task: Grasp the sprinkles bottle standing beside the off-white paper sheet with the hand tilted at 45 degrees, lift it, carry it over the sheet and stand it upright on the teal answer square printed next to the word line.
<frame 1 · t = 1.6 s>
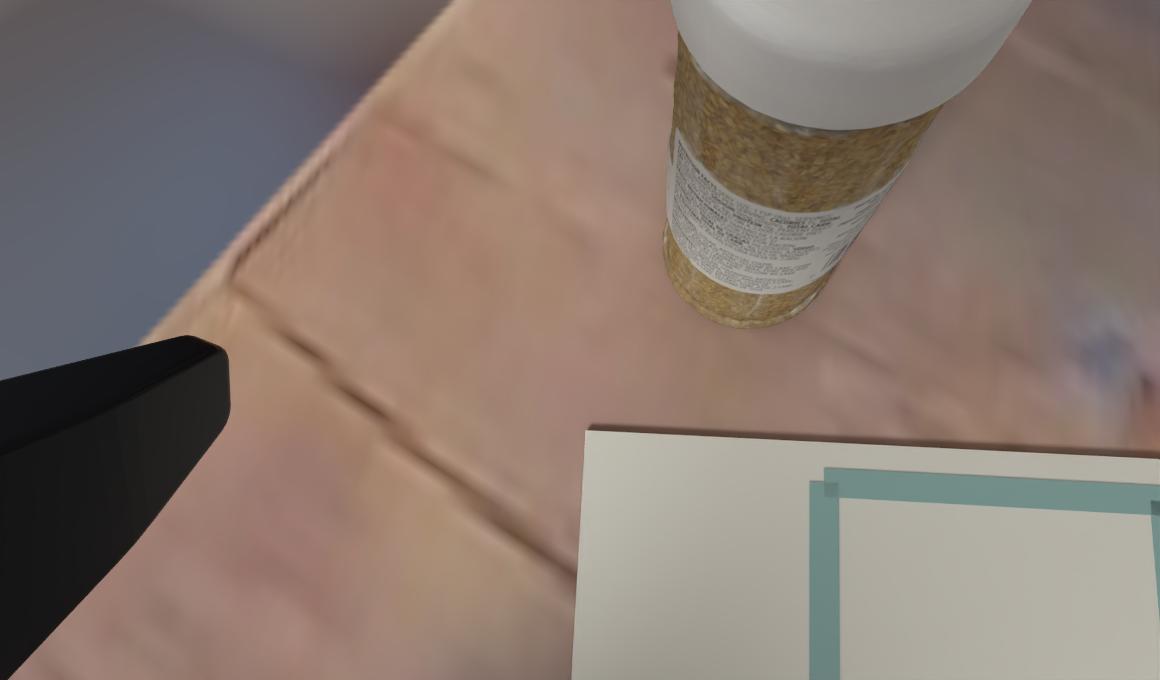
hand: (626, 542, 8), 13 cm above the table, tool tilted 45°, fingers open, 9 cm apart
sprinkles bottle: (744, 254, 23), on the table
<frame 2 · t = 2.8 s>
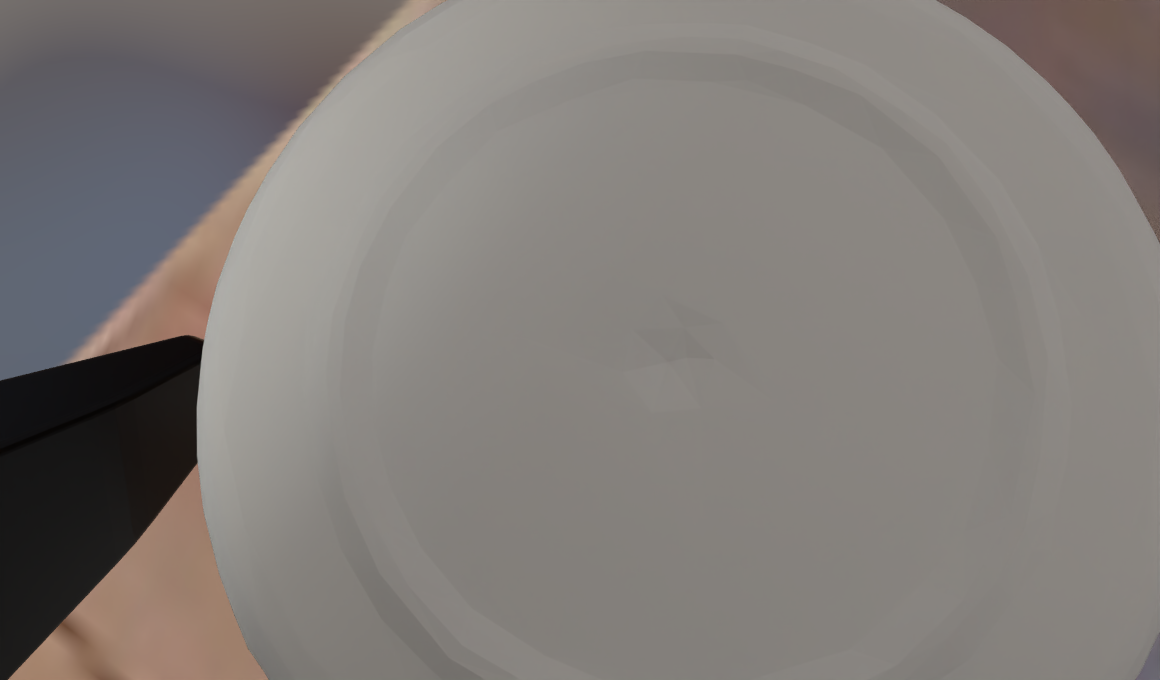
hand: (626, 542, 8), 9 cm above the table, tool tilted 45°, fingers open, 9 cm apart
sprinkles bottle: (654, 499, 17), on the table
when the fingers open (7 cm above the table, at t = 7.5 s): sprinkles bottle stays where it is, resting on paper sheet.
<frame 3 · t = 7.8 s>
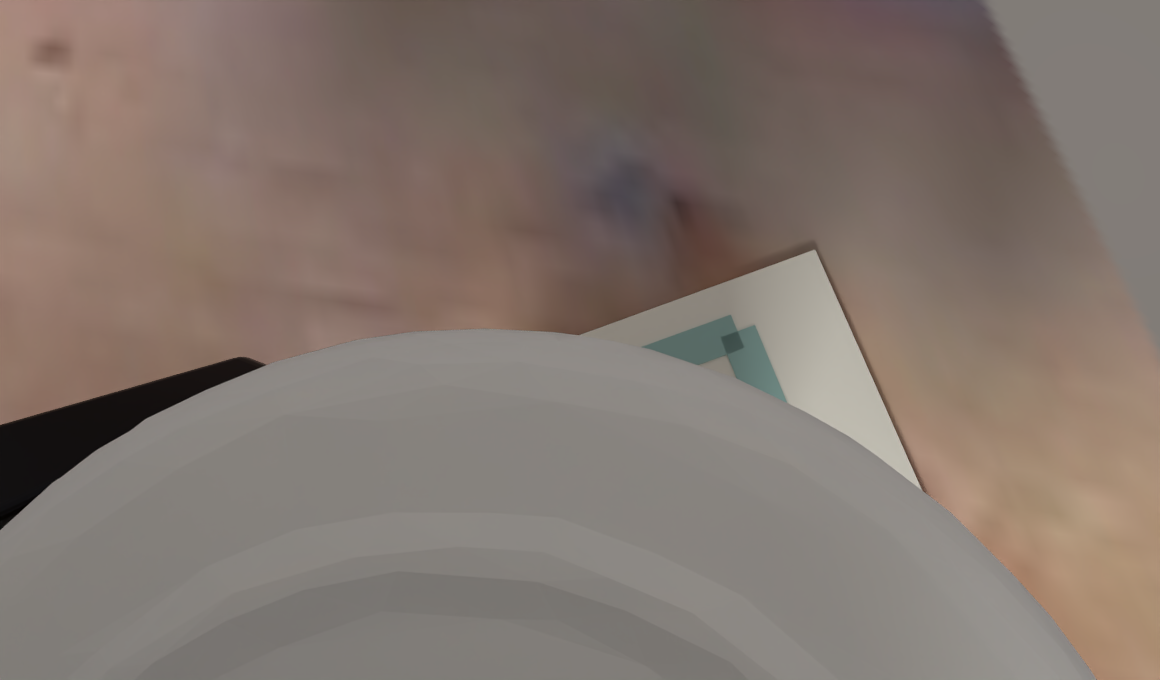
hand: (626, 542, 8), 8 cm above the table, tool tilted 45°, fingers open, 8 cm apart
sprinkles bottle: (610, 616, 15), resting on paper sheet
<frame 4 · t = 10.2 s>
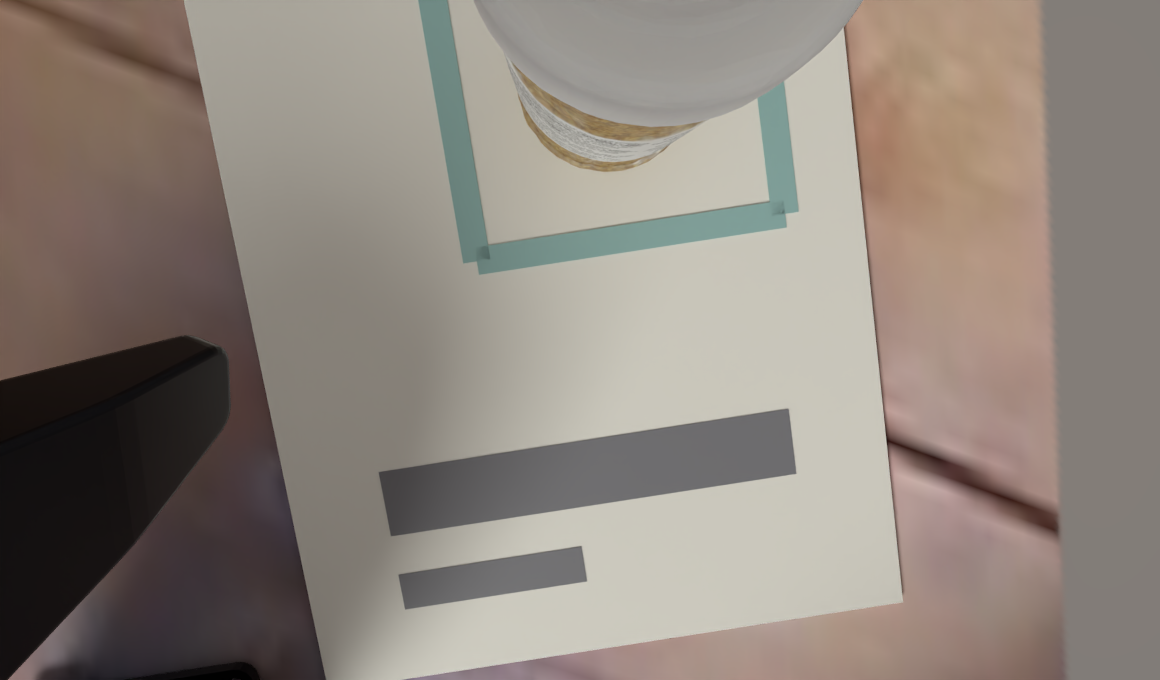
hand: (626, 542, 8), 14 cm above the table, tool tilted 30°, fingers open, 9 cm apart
sprinkles bottle: (605, 85, 21), resting on paper sheet
paper sheet: (559, 287, 22), on the table
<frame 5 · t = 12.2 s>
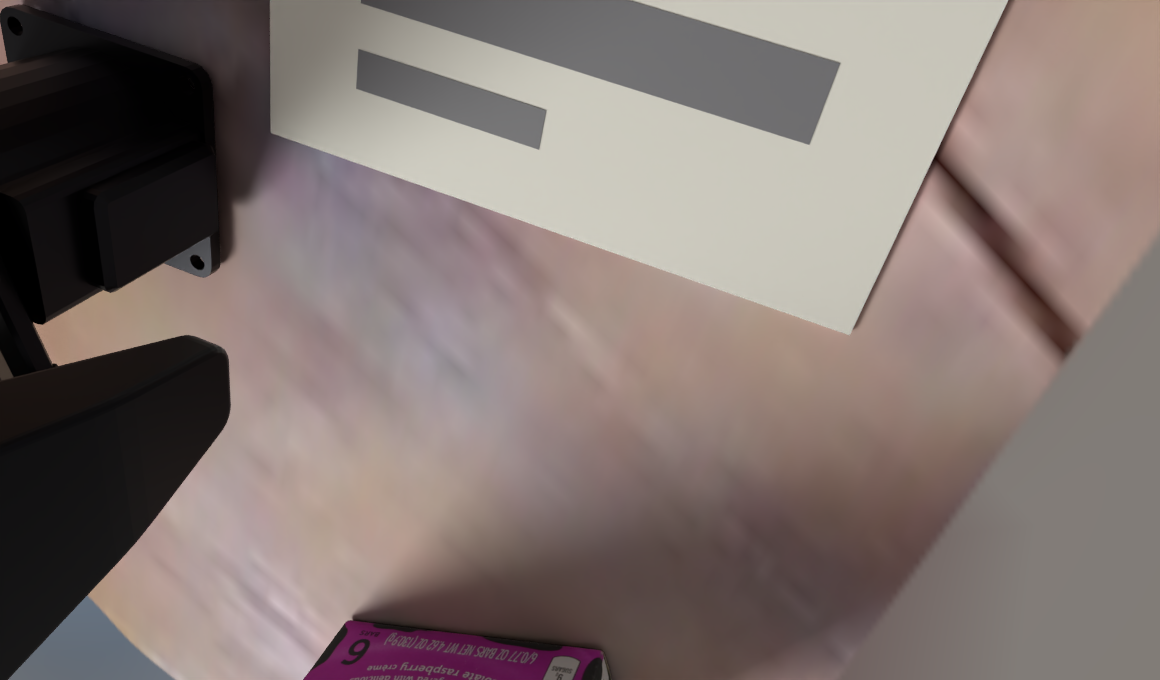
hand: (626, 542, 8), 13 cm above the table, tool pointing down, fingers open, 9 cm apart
candy bar box: (483, 666, 33), on the table
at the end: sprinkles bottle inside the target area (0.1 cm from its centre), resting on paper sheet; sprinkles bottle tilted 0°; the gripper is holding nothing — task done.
